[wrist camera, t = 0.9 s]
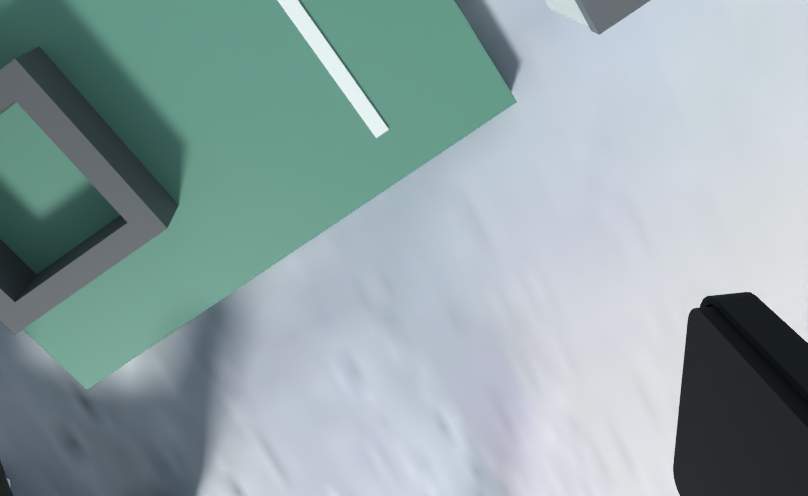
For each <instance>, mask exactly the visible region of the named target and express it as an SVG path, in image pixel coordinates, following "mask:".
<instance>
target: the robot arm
mask: <svg viewBox="0 0 808 496" xmlns="http://www.w3.org/2000/svg"><path fill="white" fill-rule="evenodd" d="M673 472H674V479H675V484H676V487H677V490H678V492H679V494H680V496H808V343H807V342H806V341H805V340H804V339H802V338H801V337H800V336H799V335H798V334H797V333H796V332H795V331H794V330H793V329H792V328H790V327H789V326H788V325H787V324H786V323H785V322H784V321H783V320H782V319H781V318H780V317H778V316H777V315H776V314H775V313H774V312H773V311H772V310H771V309H770V308H769V307H767V306H766V305H765V304H764V303H763V302H762V301H761V300H760V299H759V298H758V297H757V296H755V295H754V294H752V293H751V292H743V293H734V294H724V295H715V296H707V297H705V298H704V299H703V301H702V303H701V305H700V308H694V309H692V310H691V312H690V314H689V317H688V325H687V335H686V345H685V355H684V365H683V375H682V385H681V395H680V405H679V415H678V425H677V435H676V445H675V455H674V465H673ZM0 496H13V495H12V492H11V489H10V486H9V483H8V481H7V478H6V475H5V472H4V469H3V467H2V464H1V461H0Z"/></svg>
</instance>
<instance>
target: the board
mask: <svg viewBox="0 0 808 496" xmlns="http://www.w3.org/2000/svg"><path fill="white" fill-rule="evenodd" d="M516 102H517V101H516V99H515V98H514V96H513V95H512V93H511V91H510V90H509V88H508V86H507V85H506V83H505V82H504V80H503V78H502V77H501V75H500V73H499V72H498V70H497V69H496V67H495V65H494V64H493V62H492V60H491V59H490V57H489V56H488V54H487V52H486V51H485V49H484V47H483V46H482V44H481V43H480V41H479V39H478V38H477V36H476V34H475V33H474V31H473V30H472V28H471V26H470V25H469V23H468V21H467V20H466V18H465V17H464V15H463V13H462V12H461V10H460V8H459V7H458V5H457V4H456V2H455V0H0V321H1V322H2V323H3V324H4V325H5V326H6V327H7V328H8V329H9V330H10V331H11V332H12V333H14V334H17V333H18V332H20V331H21V330H22V329H23V330H24V331H25V332H26V333H27V334H28V335H29V336H30V337H31V338H32V339H33V340H34V341H35V342H36V343H37V344H39V345H40V346H41V347H42V348H43V349H44V350H45V351H46V352H47V353H48V354H49V355H50V356H51V357H52V358H53V359H55V360H56V361H57V362H58V363H59V364H60V365H61V366H62V367H63V368H64V369H65V370H66V371H67V372H68V373H69V374H70V375H72V376H73V377H74V378H75V379H76V380H77V381H78V382H79V383H80V384H81V385H82V386H83V387H84V388H85V389H86V390H87V389H89V388H90V387H92V386H93V385H95V384H96V383H98V382H99V381H101V380H102V379H104V378H105V377H107V376H108V375H110V374H111V373H113V372H114V371H116V370H117V369H119V368H120V367H122V366H123V365H125V364H126V363H128V362H129V361H131V360H132V359H134V358H135V357H137V356H138V355H140V354H141V353H143V352H144V351H146V350H147V349H149V348H150V347H152V346H153V345H155V344H156V343H157V342H159V341H160V340H162V339H163V338H165V337H166V336H168V335H169V334H171V333H172V332H174V331H175V330H177V329H178V328H180V327H181V326H183V325H184V324H186V323H187V322H189V321H190V320H192V319H193V318H195V317H196V316H198V315H199V314H201V313H202V312H204V311H205V310H207V309H208V308H210V307H211V306H213V305H214V304H216V303H217V302H219V301H220V300H222V299H223V298H225V297H226V296H228V295H229V294H231V293H232V292H234V291H235V290H237V289H238V288H240V287H241V286H243V285H244V284H246V283H247V282H249V281H250V280H252V279H253V278H255V277H256V276H258V275H259V274H261V273H262V272H264V271H265V270H267V269H268V268H270V267H271V266H273V265H274V264H276V263H277V262H279V261H280V260H282V259H283V258H285V257H286V256H287V255H289V254H290V253H292V252H293V251H295V250H296V249H298V248H299V247H301V246H302V245H304V244H305V243H307V242H308V241H310V240H311V239H313V238H314V237H316V236H317V235H319V234H320V233H322V232H323V231H325V230H326V229H328V228H329V227H331V226H332V225H334V224H335V223H337V222H338V221H340V220H341V219H343V218H344V217H346V216H347V215H349V214H350V213H352V212H353V211H355V210H356V209H358V208H359V207H361V206H362V205H364V204H365V203H367V202H368V201H370V200H371V199H373V198H374V197H376V196H377V195H379V194H380V193H382V192H383V191H385V190H386V189H388V188H389V187H391V186H392V185H394V184H395V183H397V182H398V181H400V180H401V179H403V178H404V177H406V176H407V175H409V174H410V173H412V172H413V171H414V170H416V169H417V168H419V167H420V166H422V165H423V164H425V163H426V162H428V161H429V160H431V159H432V158H434V157H435V156H437V155H438V154H440V153H441V152H443V151H444V150H446V149H447V148H449V147H450V146H452V145H453V144H455V143H456V142H458V141H459V140H461V139H462V138H464V137H465V136H467V135H468V134H470V133H471V132H473V131H474V130H476V129H477V128H479V127H480V126H482V125H483V124H485V123H486V122H488V121H489V120H491V119H492V118H494V117H495V116H497V115H498V114H500V113H501V112H503V111H504V110H506V109H507V108H509V107H510V106H512V105H513V104H515V103H516Z"/></svg>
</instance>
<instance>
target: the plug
mask: <svg viewBox="0 0 808 496" xmlns="http://www.w3.org/2000/svg"><path fill="white" fill-rule="evenodd" d="M545 1H546V3H547V5H548V6H549V8H550V9H552V10H554V11H556V12H558V13H560V14H562V15H564V16H566V17H568V18H571V19H573V20H575V21H577V22H579V23H581V24H583V25H585V26H588V27H590V29H591V31H593V32H595V33H597V34H601V33H602V32H604V31H605V30H607V29H608V28H610V27H611V26H613V25H614V24H616V23H617V22H619V21H620V20H622V19H623V18H625V17H626V16H628V15H629V14H631V13H632V12H634V11H635V10H637V9H638V8H640V7H641V6H643V5H644V4H646V3H647V2H649V1H650V0H545Z"/></svg>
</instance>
